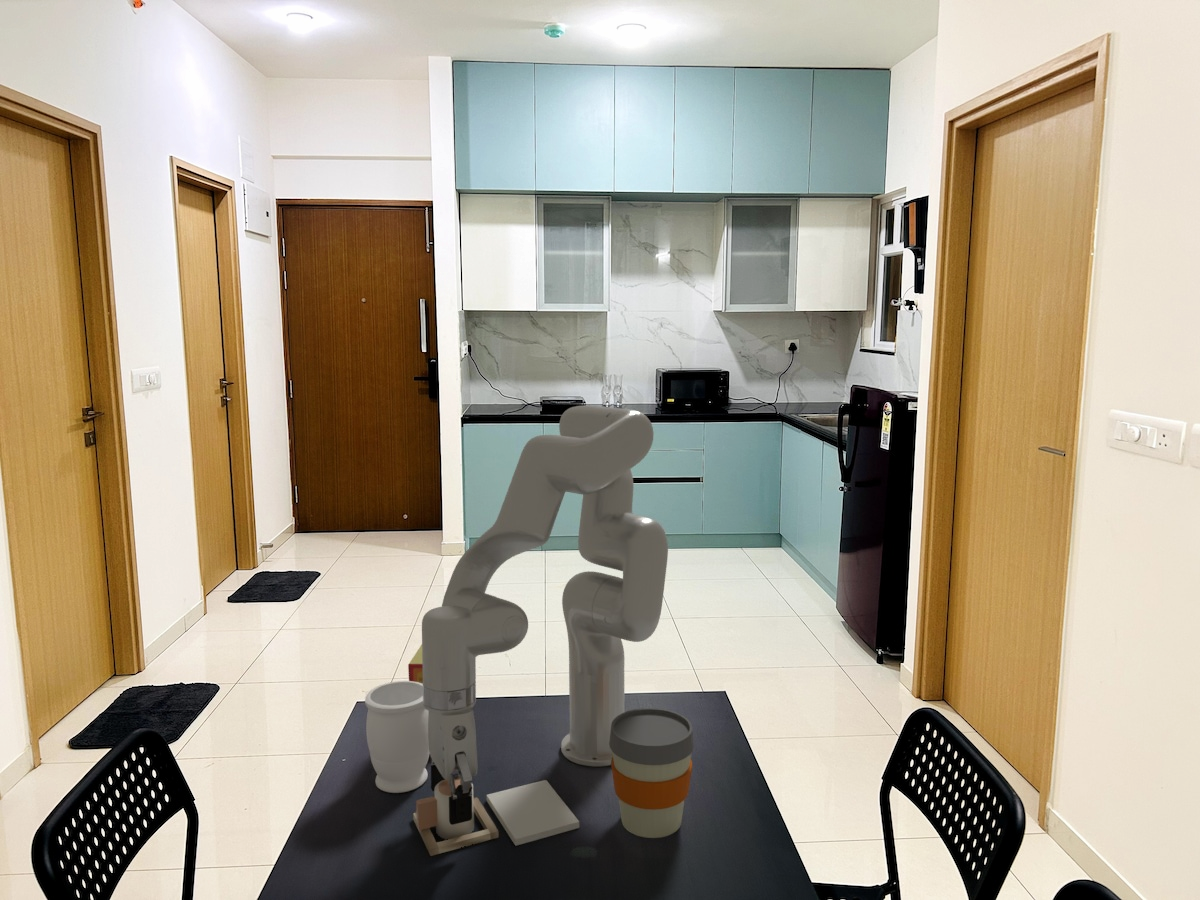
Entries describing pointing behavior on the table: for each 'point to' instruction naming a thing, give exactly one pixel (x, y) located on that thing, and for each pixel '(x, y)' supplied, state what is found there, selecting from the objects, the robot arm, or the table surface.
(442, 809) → the cylinder with brown end
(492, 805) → the mat
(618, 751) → the reusable coffee cup
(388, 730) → the jar
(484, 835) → the wooden square frame
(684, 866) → the table surface
